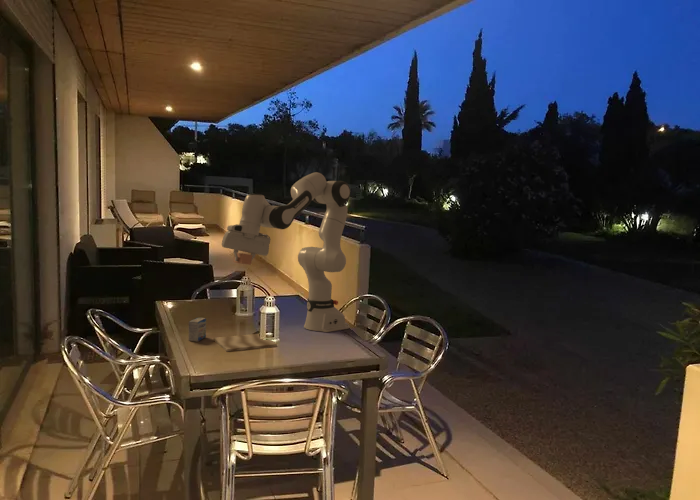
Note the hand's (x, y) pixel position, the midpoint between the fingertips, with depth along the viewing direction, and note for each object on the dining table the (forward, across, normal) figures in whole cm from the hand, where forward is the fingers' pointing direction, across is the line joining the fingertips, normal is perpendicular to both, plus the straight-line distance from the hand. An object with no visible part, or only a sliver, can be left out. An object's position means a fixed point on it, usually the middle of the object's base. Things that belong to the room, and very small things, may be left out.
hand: (242, 262), depth 239 cm
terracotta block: (-2, 0, -6) cm, 6 cm away
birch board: (+34, -9, -2) cm, 35 cm away
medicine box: (+36, +8, -16) cm, 40 cm away
